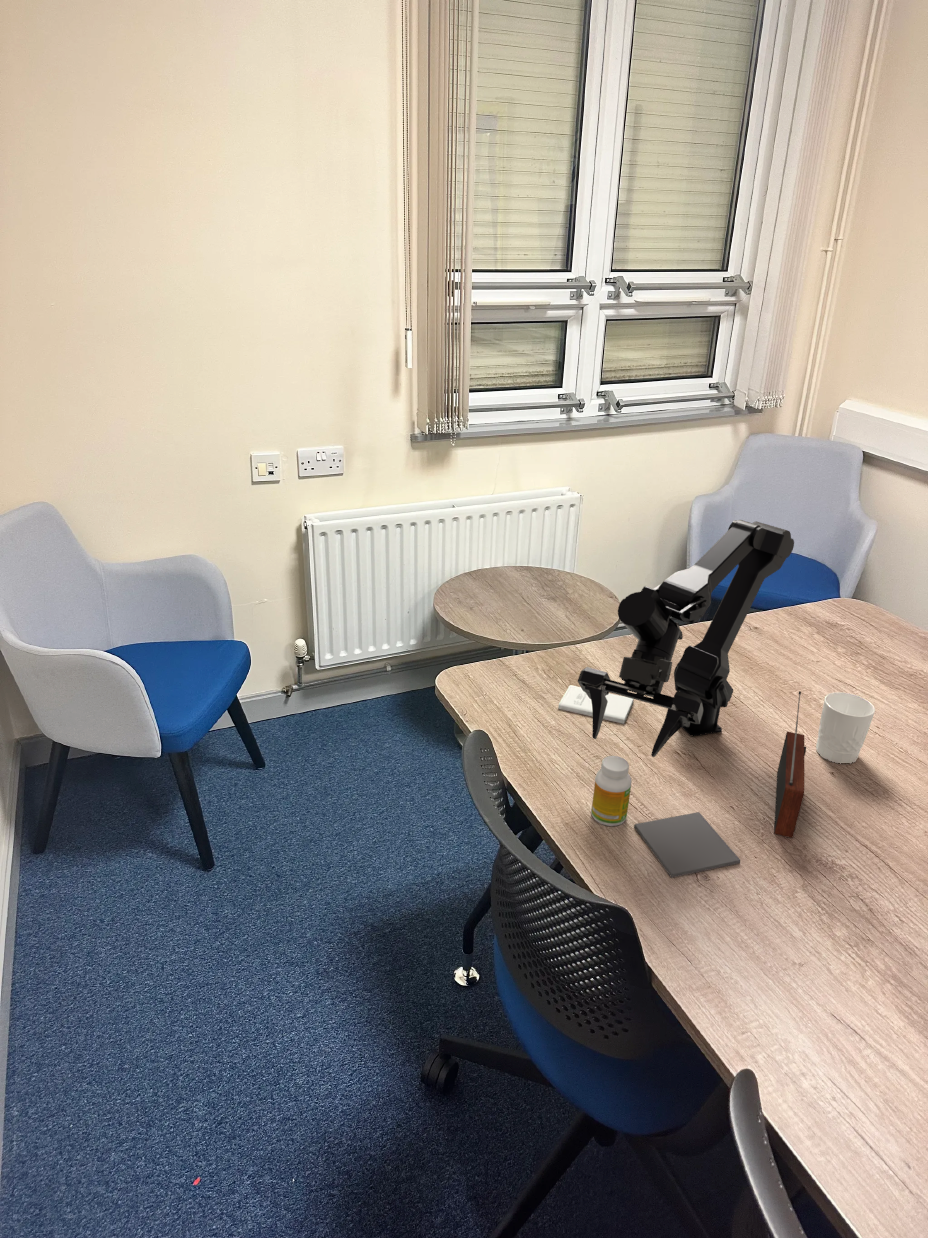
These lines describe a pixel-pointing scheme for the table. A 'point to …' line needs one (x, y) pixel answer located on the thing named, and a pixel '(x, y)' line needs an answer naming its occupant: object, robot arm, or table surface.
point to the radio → (790, 783)
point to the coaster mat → (686, 844)
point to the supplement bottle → (611, 791)
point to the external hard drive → (582, 704)
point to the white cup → (843, 726)
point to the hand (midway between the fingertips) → (622, 747)
